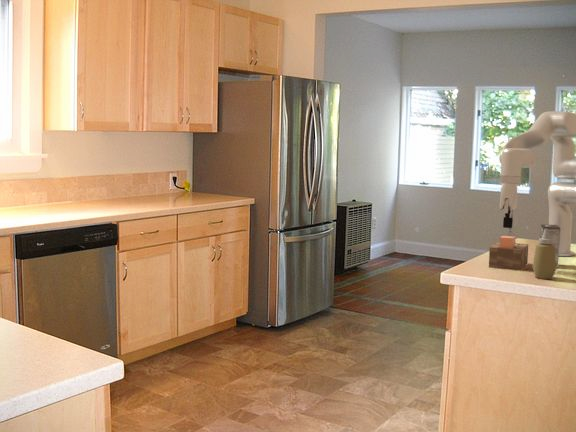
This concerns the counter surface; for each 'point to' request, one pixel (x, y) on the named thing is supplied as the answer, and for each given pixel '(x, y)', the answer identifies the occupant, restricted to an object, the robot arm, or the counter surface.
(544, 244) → the squeeze bottle
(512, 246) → the terracotta plug
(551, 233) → the coffee box
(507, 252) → the plug console
